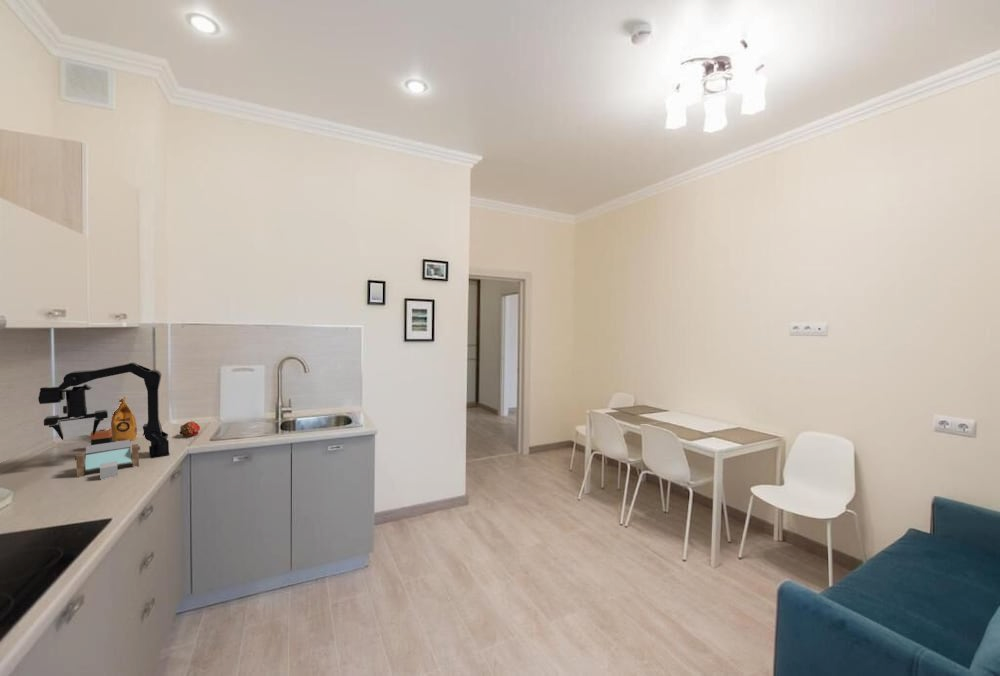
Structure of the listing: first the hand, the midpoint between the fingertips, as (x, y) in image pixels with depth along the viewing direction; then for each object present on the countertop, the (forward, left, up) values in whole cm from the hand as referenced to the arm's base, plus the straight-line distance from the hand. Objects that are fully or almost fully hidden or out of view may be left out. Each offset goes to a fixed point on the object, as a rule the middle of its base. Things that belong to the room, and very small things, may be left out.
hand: (78, 437), depth 175 cm
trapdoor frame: (-9, +13, -13) cm, 20 cm away
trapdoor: (-9, +10, -8) cm, 16 cm away
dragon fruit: (-40, -25, -13) cm, 49 cm away
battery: (-6, -25, -13) cm, 28 cm away
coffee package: (-14, -39, -13) cm, 43 cm away
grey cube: (-9, +23, -8) cm, 26 cm away
